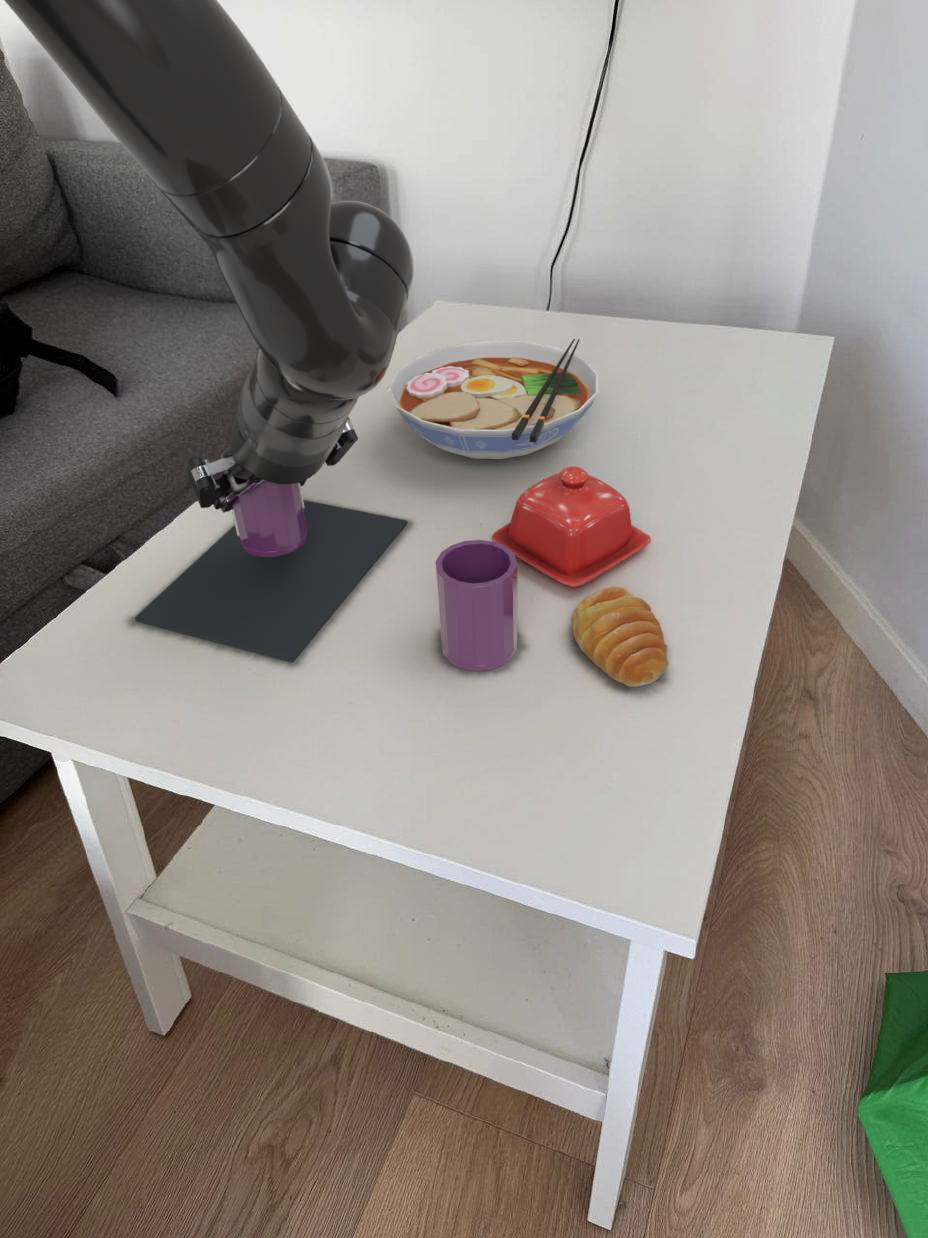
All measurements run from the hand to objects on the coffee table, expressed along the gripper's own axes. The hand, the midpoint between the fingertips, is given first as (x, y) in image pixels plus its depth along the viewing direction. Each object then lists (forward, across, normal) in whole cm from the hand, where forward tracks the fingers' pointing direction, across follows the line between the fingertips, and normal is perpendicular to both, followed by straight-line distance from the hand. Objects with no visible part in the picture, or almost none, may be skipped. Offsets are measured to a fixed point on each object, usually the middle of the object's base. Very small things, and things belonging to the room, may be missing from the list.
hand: (258, 489), depth 82 cm
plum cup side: (-10, -9, +21) cm, 25 cm away
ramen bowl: (+11, -30, +1) cm, 32 cm away
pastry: (-14, -19, +26) cm, 35 cm away
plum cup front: (+2, 0, +4) cm, 5 cm away
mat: (+4, 0, +7) cm, 8 cm away
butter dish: (-5, -24, +16) cm, 29 cm away
